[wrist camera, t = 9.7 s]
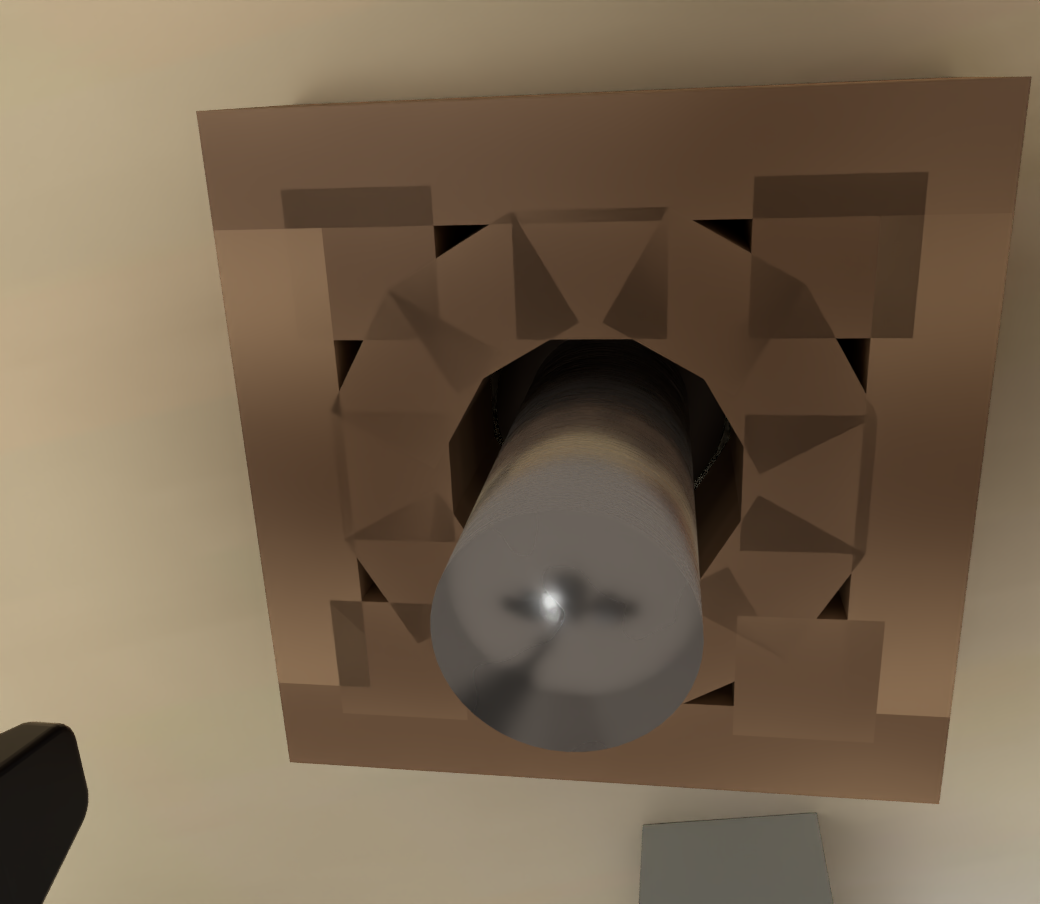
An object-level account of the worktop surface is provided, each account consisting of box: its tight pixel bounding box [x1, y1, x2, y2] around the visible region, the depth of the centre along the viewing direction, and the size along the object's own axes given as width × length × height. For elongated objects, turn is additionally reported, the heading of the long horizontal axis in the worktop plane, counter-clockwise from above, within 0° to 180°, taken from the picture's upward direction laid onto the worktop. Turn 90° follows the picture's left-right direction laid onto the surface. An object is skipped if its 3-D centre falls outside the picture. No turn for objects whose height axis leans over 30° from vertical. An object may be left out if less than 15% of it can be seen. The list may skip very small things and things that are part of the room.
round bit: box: [430, 339, 704, 752], centre depth 16 cm, size 3×3×9 cm
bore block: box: [196, 77, 1031, 804], centre depth 18 cm, size 12×12×4 cm
